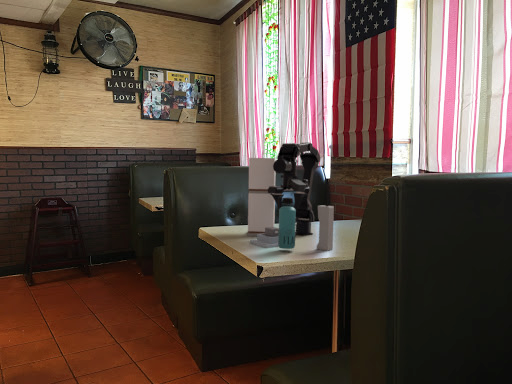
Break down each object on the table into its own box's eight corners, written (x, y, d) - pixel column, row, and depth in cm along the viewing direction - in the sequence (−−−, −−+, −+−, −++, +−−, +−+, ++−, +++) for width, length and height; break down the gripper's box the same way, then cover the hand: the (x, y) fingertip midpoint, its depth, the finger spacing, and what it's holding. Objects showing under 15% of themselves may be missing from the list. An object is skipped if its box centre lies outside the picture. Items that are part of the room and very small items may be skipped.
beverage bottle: (281, 253, 143) (282, 198, 141) (275, 249, 149) (276, 196, 148) (297, 252, 144) (299, 198, 143) (291, 248, 151) (292, 196, 149)
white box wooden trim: (274, 232, 187) (275, 158, 184) (273, 236, 176) (274, 158, 174) (250, 231, 188) (251, 158, 185) (247, 235, 177) (249, 157, 175)
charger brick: (272, 238, 163) (272, 226, 163) (280, 240, 159) (280, 228, 159) (264, 239, 161) (265, 227, 161) (272, 241, 157) (272, 229, 157)
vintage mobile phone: (321, 247, 154) (323, 183, 152) (332, 249, 151) (334, 184, 149) (316, 249, 151) (318, 184, 149) (327, 251, 148) (329, 184, 146)
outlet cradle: (276, 239, 169) (276, 231, 169) (294, 244, 159) (295, 235, 159) (249, 242, 161) (249, 234, 161) (267, 247, 151) (267, 238, 151)
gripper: (284, 173, 154) (283, 213, 155) (319, 173, 164) (318, 210, 166) (267, 172, 163) (266, 210, 164) (301, 173, 174) (300, 208, 175)
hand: (288, 209), depth 167 cm, fingers open, 9 cm apart
